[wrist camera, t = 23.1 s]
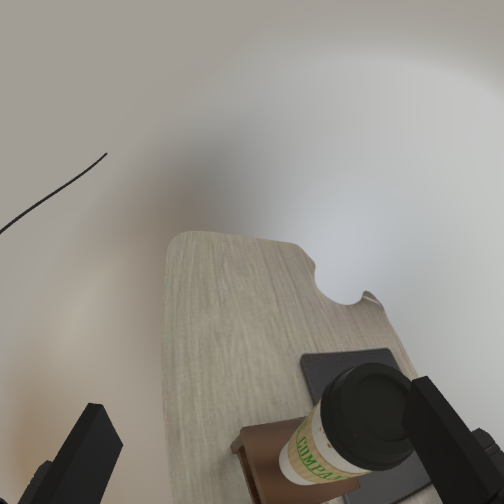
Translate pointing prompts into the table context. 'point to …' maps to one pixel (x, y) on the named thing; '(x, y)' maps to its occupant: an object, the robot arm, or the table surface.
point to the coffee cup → (351, 428)
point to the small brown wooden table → (268, 469)
